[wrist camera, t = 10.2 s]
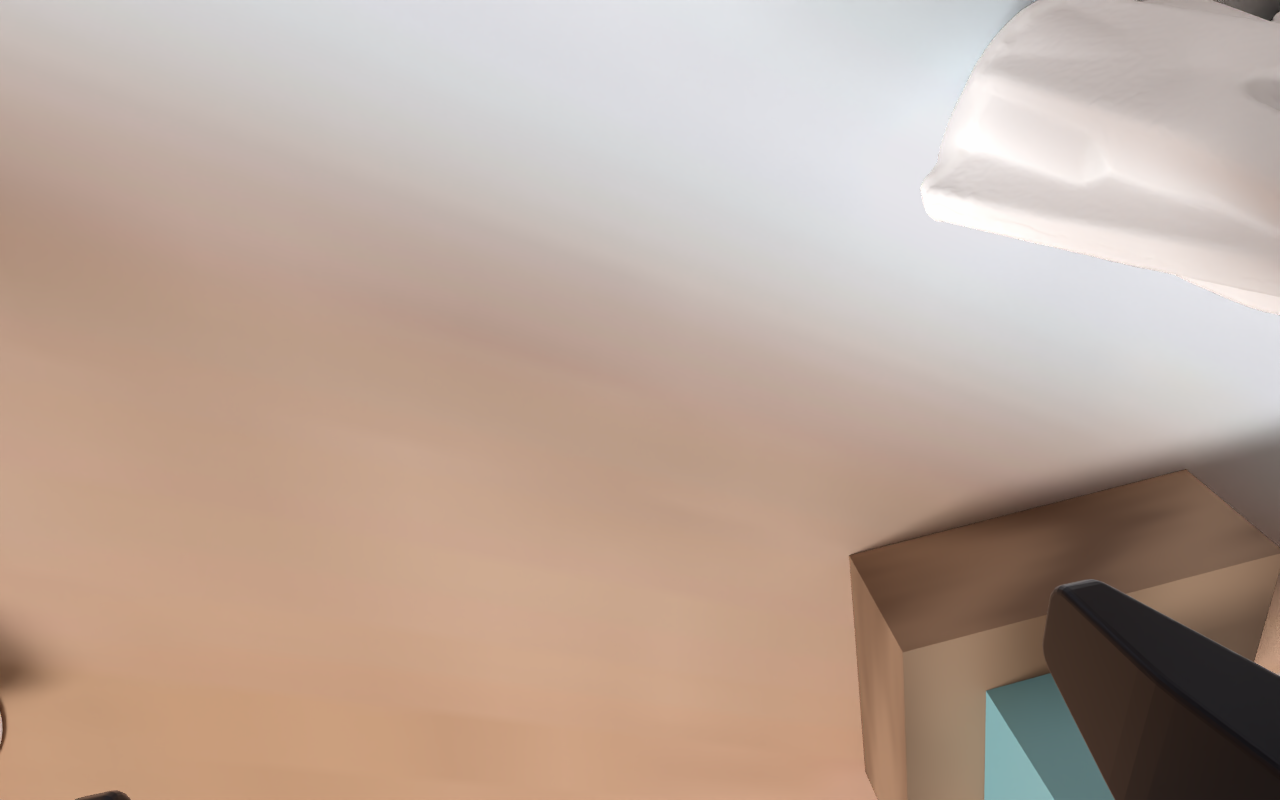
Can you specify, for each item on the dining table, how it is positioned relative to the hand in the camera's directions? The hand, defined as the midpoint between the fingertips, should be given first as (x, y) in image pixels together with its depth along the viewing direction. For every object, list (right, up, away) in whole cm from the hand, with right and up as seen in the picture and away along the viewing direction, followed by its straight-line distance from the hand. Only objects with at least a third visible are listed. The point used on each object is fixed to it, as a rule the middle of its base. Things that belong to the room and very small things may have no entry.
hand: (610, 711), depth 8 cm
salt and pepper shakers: (+11, +10, +11) cm, 19 cm away
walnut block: (+12, -4, +19) cm, 23 cm away
